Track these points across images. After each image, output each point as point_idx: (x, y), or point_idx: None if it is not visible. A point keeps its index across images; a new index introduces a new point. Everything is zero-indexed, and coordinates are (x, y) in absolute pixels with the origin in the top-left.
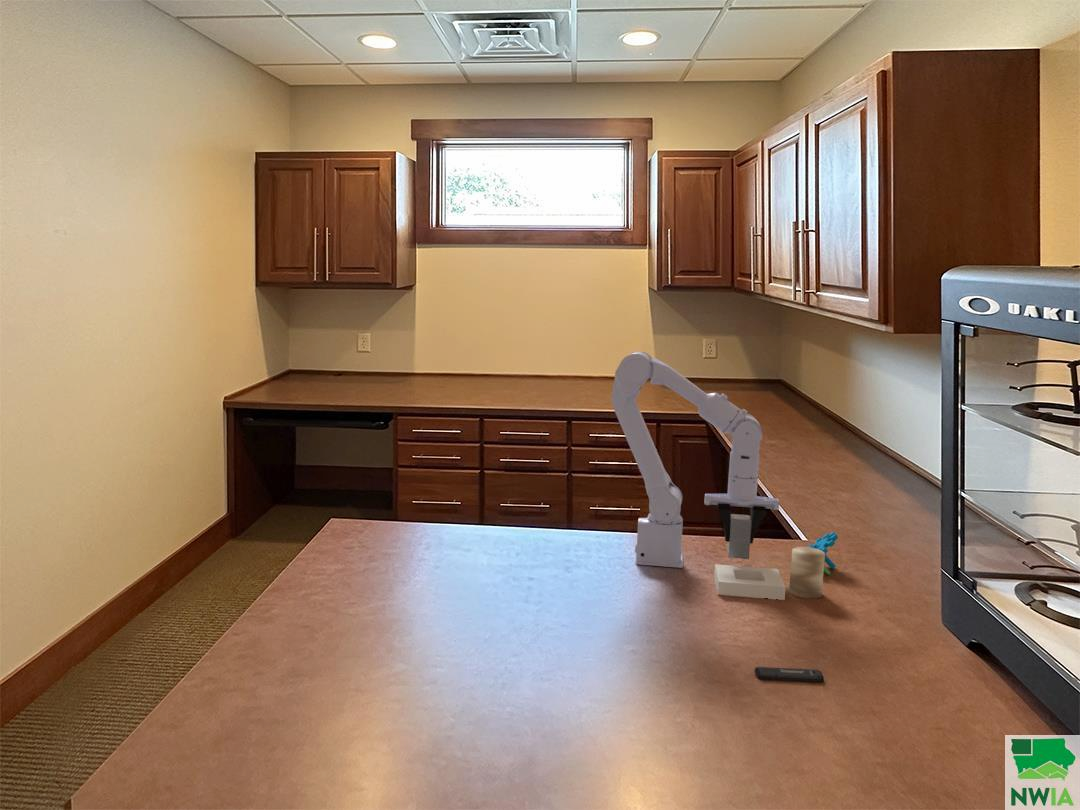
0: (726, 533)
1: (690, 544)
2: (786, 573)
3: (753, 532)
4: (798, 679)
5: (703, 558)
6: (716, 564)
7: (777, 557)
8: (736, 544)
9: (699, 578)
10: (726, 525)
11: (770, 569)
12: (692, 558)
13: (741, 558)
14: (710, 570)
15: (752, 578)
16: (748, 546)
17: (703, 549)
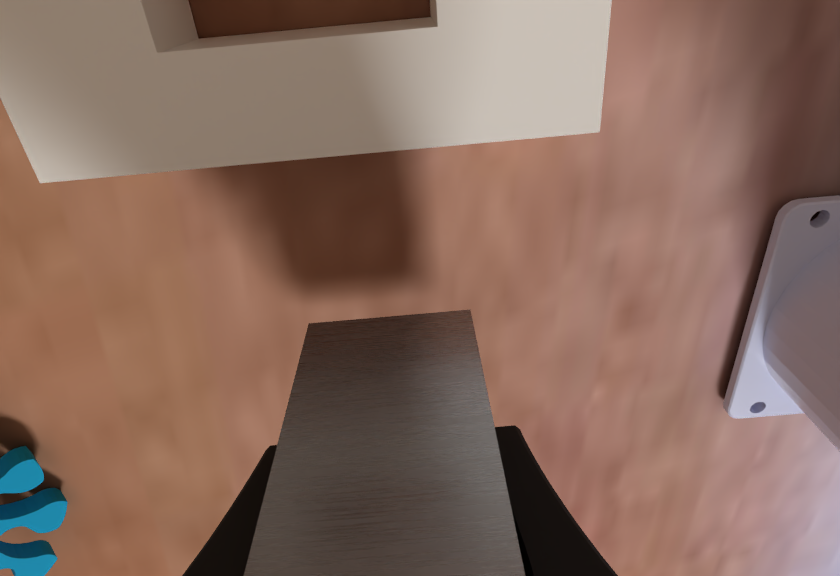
0: (539, 483)
1: (626, 568)
2: (81, 332)
3: (230, 539)
4: None
5: (590, 420)
6: (585, 130)
7: (191, 536)
8: (417, 393)
9: (695, 17)
10: (575, 570)
11: (96, 151)
12: (657, 402)
13: (366, 319)
14: (576, 233)
15: (259, 36)
16: (302, 395)
17: None
